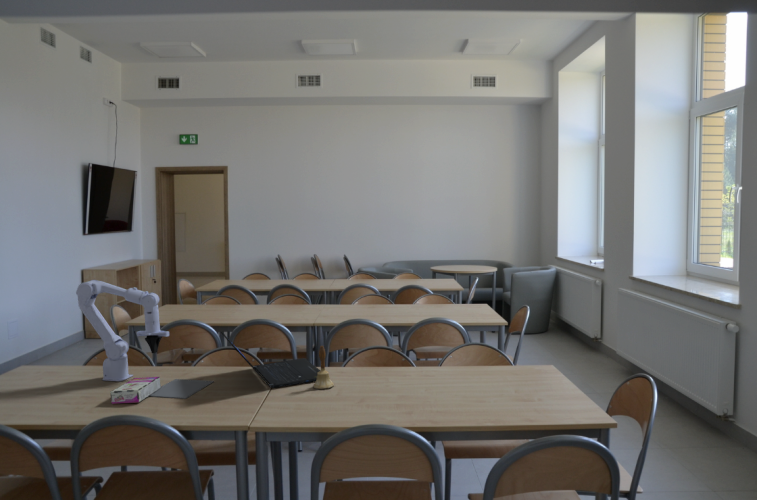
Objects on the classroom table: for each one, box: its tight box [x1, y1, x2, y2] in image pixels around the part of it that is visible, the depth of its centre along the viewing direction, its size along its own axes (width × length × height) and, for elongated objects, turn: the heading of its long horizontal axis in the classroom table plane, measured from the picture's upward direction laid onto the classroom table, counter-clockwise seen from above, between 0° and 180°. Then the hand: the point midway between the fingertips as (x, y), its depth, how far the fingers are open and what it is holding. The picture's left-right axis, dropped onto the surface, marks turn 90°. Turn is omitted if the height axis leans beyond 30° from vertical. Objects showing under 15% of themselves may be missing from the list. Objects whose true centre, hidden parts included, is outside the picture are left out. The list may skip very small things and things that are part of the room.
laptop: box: [220, 330, 321, 389], centre depth 227 cm, size 33×38×19 cm
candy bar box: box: [109, 376, 162, 405], centre depth 207 cm, size 11×5×16 cm
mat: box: [148, 378, 215, 400], centre depth 215 cm, size 18×20×1 cm
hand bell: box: [312, 345, 335, 390], centre depth 212 cm, size 8×8×16 cm
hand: (154, 352), depth 231 cm, fingers closed
